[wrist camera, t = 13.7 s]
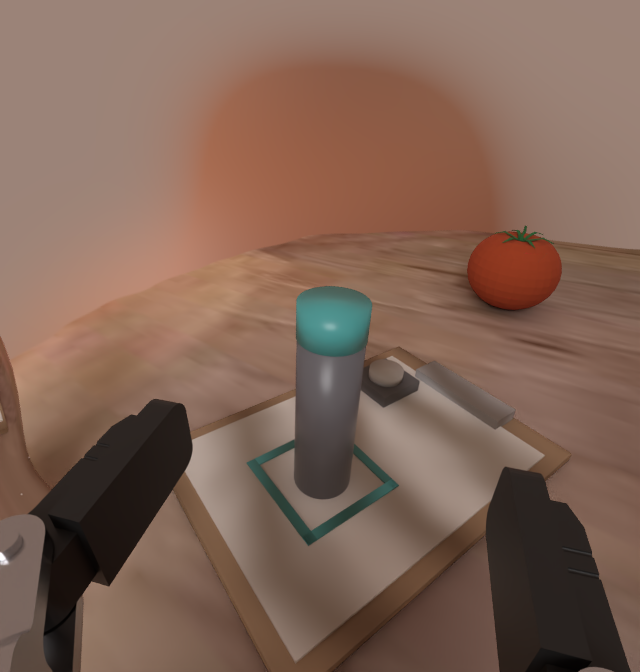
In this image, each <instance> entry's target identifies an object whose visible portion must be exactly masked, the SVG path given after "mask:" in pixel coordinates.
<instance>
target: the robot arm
mask: <svg viewBox="0 0 640 672" xmlns="http://www.w3.org/2000/svg"><path fill="white" fill-rule="evenodd" d="M192 451H193V444H192V439H191V434H190V429H189V424H188V419H187V414H186V409H185V407H184V405H183V404H180V403H175V402H170V401H164V400H159V399H153V400H151V401H150V402H149V403H148V404H147V405H146V406H145V407H144V408H143V409H142V411H141V412H140V413H139V414H138V415H137V416H136V415H130V416H128V417H127V418H125V419H123V420H122V421H120V422H118V423H117V424H115V425H113V426H112V427H111V428H110V429H109V430H108V431H107V432H106V433H105V434H104V435H103V436H102V437H101V438H100V439H99V440H98V441H97V444H96V446H95V445H94V446H93V447H92V448H91V449H90V450H89V451H88V452H87V453H86V454H85V457H84V458H83V459H82V458H81V459H80V460H79V461H78V463H77V464H76V465H75V466H74V467H73V468H72V469H71V470H70V471H69V472H68V473H67V474H66V475H65V476H64V477H63V478H62V479H61V480H60V481H59V483H58V484H57V485H56V486H55V487H54V488H53V489H52V490H51V491H50V492H49V493H48V494H47V495H46V496H45V497H44V498H43V499H42V500H41V501H40V502H39V504H38V505H37V506H36V507H35V508H34V509H33V510H31V511H30V512H29V513H28V514H22V515H15V516H11V517H8V518H5V519H3V520H1V521H0V672H80V670H81V648H82V626H83V604H84V602H83V595H82V594H83V593H84V591H85V590H86V588H87V587H88V586H89V584H90V583H91V581H92V582H96V583H99V584H102V585H106V586H110V584H111V583H112V581H113V580H114V578H115V577H116V575H117V574H118V572H119V571H120V569H121V568H122V566H123V564H124V563H125V561H126V560H127V558H128V557H129V555H130V554H131V552H132V551H133V549H134V548H135V546H136V545H137V543H138V542H139V540H140V539H141V537H142V535H143V534H144V532H145V531H146V529H147V528H148V526H149V525H150V523H151V522H152V520H153V519H154V517H155V516H156V514H157V513H158V511H159V510H160V508H161V506H162V505H163V503H164V502H165V500H166V499H167V497H168V496H169V494H170V493H171V491H172V490H173V488H174V487H175V485H176V484H177V482H178V481H179V479H180V477H181V476H182V474H183V473H184V471H185V470H186V468H187V467H188V465H189V462H190V460H191V456H192ZM486 541H487V551H488V561H489V570H490V580H491V590H492V600H493V610H494V620H495V630H496V640H497V650H498V660H499V670H500V672H631V671H630V668H629V665H628V662H627V659H626V656H625V653H624V650H623V647H622V644H621V641H620V638H619V634H618V631H617V628H616V625H615V622H614V619H613V616H612V613H611V610H610V607H609V603H608V600H607V597H606V594H605V591H604V588H603V585H602V582H601V580H599V572H598V569H597V566H596V563H595V560H594V558H592V551H591V548H590V544H589V541H588V538H587V535H586V532H585V529H584V527H583V525H582V524H581V523H580V521H579V520H578V518H577V517H576V516H575V514H574V513H573V512H572V510H571V509H570V508H569V506H568V505H567V504H566V503H562V502H557V501H552V500H550V498H549V494H548V490H547V487H546V483H545V479H544V477H543V475H542V474H541V473H536V472H531V471H526V470H521V469H515V468H510V467H504V468H503V470H502V472H501V475H500V478H499V480H498V483H497V486H496V488H495V491H494V494H493V497H492V499H491V502H490V505H489V508H488V512H487V518H486Z"/></svg>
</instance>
